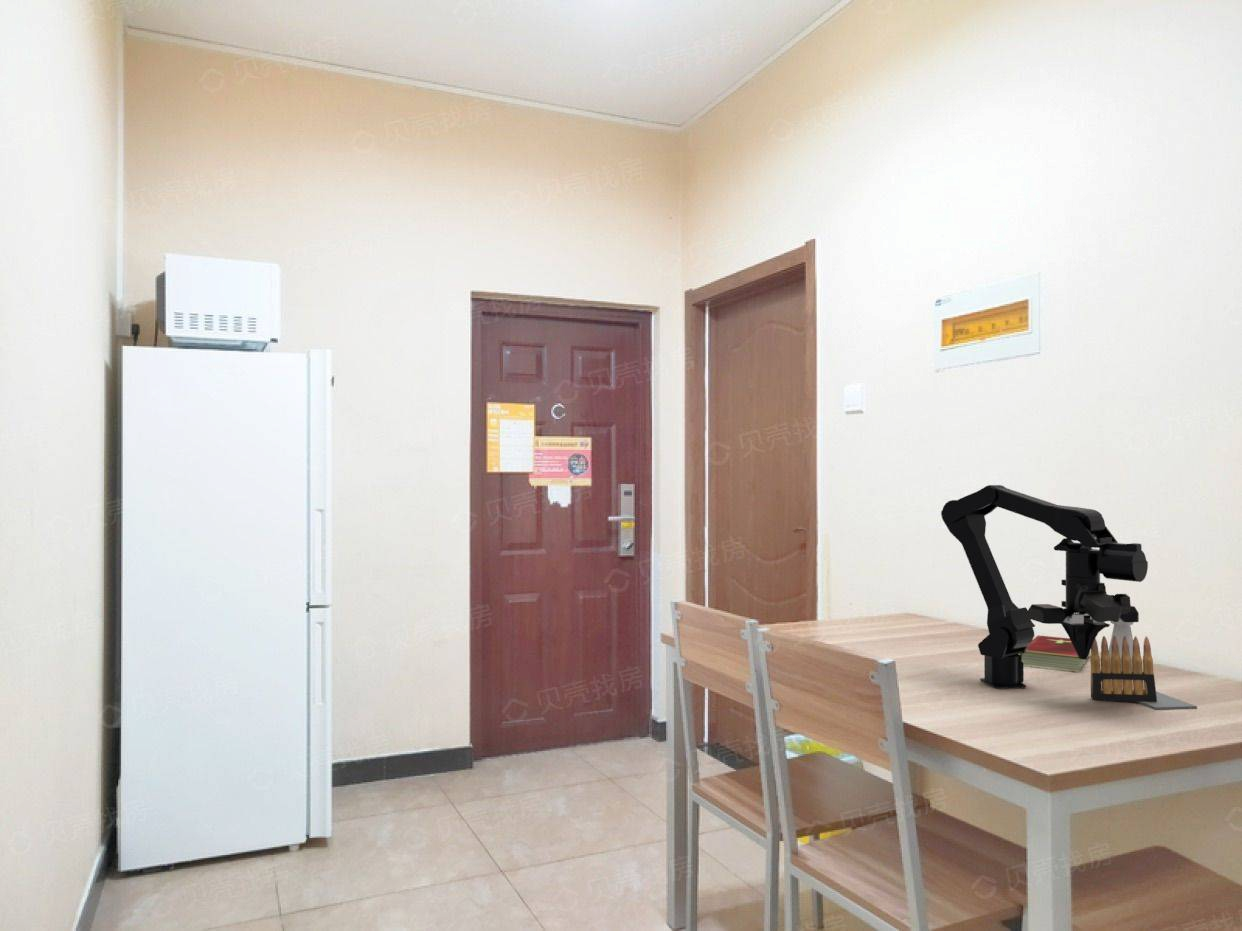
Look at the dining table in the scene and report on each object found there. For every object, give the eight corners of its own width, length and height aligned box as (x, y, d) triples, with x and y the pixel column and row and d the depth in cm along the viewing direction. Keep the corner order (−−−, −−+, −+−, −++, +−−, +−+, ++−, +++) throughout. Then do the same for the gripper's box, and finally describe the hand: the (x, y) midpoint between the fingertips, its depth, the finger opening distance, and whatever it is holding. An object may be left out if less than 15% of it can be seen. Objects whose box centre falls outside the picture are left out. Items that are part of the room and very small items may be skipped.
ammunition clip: (1092, 699, 163) (1089, 636, 163) (1090, 697, 165) (1087, 634, 165) (1157, 701, 159) (1153, 637, 159) (1154, 699, 161) (1150, 635, 161)
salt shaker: (1106, 675, 182) (1106, 614, 182) (1105, 669, 187) (1105, 610, 187) (1138, 678, 179) (1138, 616, 179) (1136, 672, 184) (1136, 612, 185)
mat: (1155, 709, 156) (1155, 707, 156) (1112, 692, 168) (1112, 690, 168) (1197, 708, 157) (1197, 706, 157) (1150, 691, 169) (1150, 689, 169)
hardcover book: (1019, 667, 191) (1019, 648, 191) (1036, 651, 209) (1035, 633, 209) (1080, 675, 185) (1079, 655, 185) (1091, 657, 202) (1091, 639, 202)
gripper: (1061, 582, 153) (1061, 670, 153) (1159, 581, 154) (1160, 668, 154) (1026, 574, 164) (1026, 656, 164) (1118, 573, 165) (1118, 654, 165)
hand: (1082, 659), depth 161 cm, fingers closed
